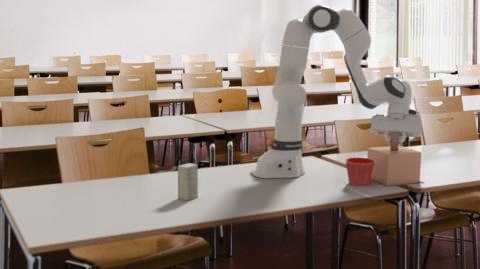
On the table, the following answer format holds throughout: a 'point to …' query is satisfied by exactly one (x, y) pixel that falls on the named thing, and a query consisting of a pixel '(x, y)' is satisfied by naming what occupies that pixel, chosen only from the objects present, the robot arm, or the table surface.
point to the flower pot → (359, 171)
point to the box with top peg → (395, 163)
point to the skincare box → (187, 181)
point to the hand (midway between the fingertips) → (394, 143)
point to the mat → (396, 184)
